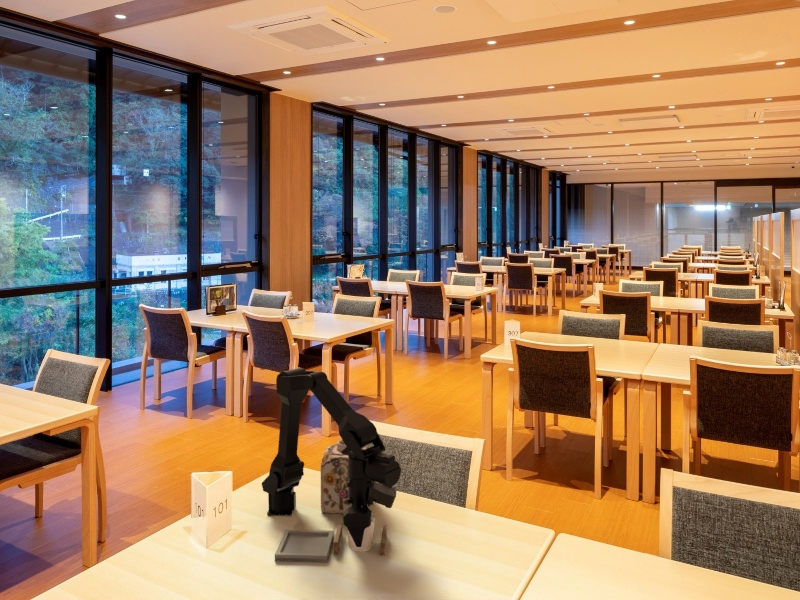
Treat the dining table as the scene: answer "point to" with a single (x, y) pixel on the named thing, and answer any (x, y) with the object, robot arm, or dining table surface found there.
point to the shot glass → (364, 538)
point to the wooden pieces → (339, 536)
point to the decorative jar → (334, 479)
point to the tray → (305, 546)
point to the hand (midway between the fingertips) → (360, 537)
